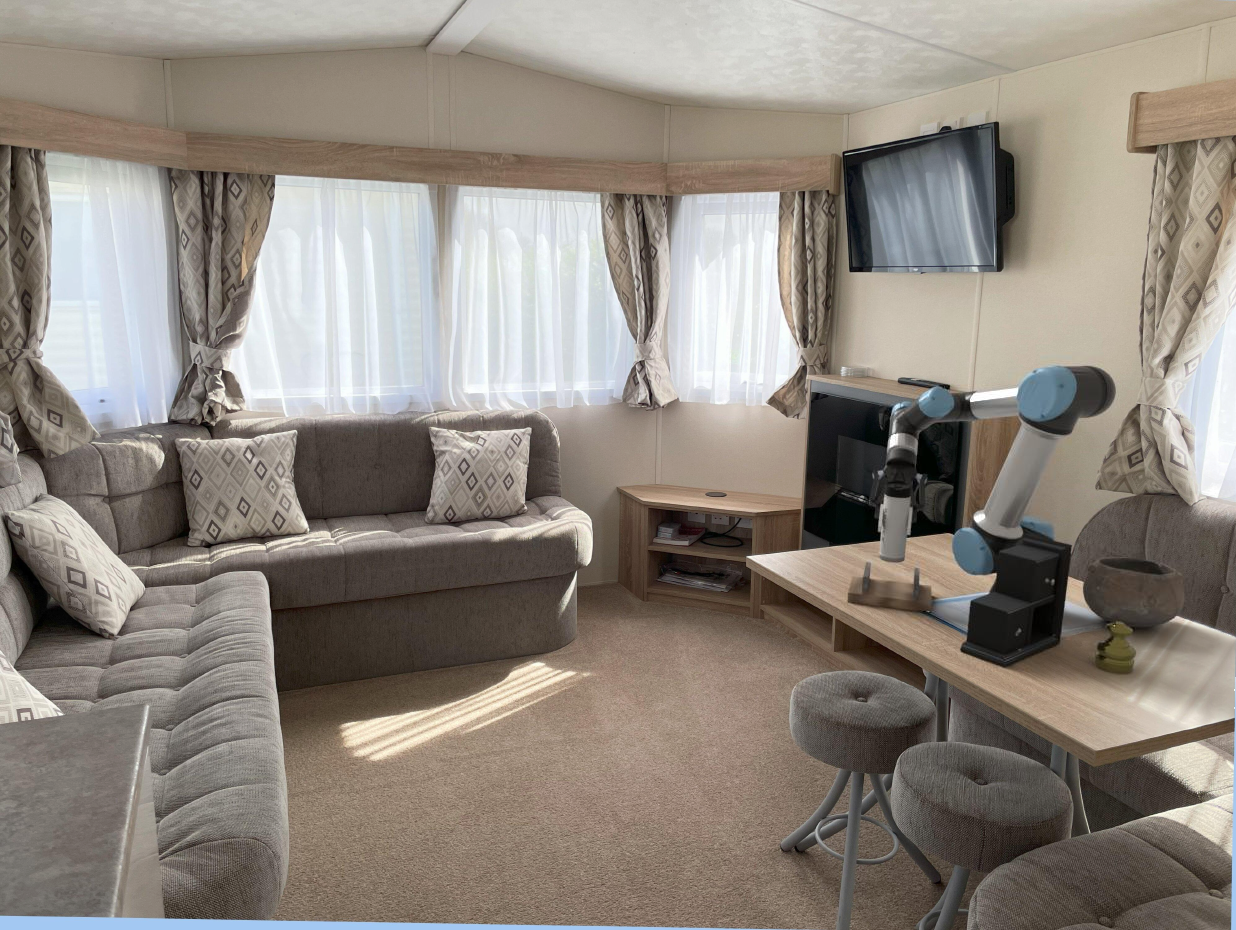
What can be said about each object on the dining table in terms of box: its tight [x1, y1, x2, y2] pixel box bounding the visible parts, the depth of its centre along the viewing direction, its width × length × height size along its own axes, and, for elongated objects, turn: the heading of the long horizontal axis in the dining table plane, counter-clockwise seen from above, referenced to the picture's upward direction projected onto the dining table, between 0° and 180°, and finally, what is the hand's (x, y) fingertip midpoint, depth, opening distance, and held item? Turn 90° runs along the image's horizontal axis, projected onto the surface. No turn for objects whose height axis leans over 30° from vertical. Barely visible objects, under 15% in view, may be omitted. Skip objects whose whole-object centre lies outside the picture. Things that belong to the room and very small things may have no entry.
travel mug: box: [878, 480, 912, 563], centre depth 228 cm, size 6×7×20 cm
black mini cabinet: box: [959, 534, 1073, 668], centre depth 199 cm, size 23×11×24 cm, turn 127°
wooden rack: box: [847, 561, 933, 612], centre depth 231 cm, size 20×14×7 cm
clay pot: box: [1082, 556, 1186, 628], centre depth 217 cm, size 21×21×15 cm
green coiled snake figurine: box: [1094, 622, 1137, 675], centre depth 191 cm, size 7×7×10 cm
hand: (894, 530), depth 225 cm, fingers closed on travel mug, 6 cm apart
